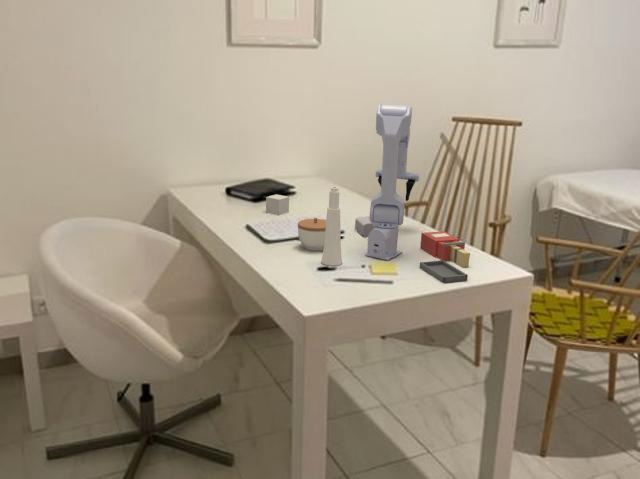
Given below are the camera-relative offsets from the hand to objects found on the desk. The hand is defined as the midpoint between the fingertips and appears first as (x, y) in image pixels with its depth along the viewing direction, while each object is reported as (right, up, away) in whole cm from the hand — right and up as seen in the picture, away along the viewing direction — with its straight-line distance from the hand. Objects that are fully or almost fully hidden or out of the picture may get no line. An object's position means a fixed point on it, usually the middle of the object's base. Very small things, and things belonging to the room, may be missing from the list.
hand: (396, 198), depth 223 cm
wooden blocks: (+14, -20, -31) cm, 39 cm away
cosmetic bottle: (-23, -21, -35) cm, 46 cm away
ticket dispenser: (+11, -18, -24) cm, 32 cm away
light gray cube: (-42, -4, +19) cm, 46 cm away
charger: (-9, -11, -1) cm, 15 cm away
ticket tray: (+8, -23, -42) cm, 48 cm away
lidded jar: (-27, -17, -21) cm, 39 cm away
